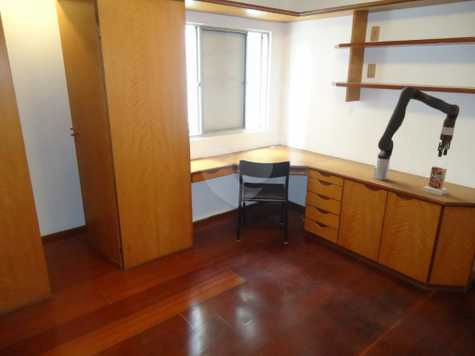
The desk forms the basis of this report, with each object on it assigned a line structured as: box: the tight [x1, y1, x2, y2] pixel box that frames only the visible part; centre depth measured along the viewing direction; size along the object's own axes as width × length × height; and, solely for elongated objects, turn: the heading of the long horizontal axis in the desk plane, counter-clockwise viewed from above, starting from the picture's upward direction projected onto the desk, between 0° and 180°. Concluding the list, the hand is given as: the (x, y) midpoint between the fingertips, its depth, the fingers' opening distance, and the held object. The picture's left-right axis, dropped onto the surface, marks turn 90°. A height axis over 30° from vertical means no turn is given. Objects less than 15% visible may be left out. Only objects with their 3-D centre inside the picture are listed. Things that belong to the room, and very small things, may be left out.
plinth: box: [422, 185, 447, 196], centre depth 250 cm, size 12×10×3 cm
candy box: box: [427, 165, 447, 190], centre depth 248 cm, size 9×4×15 cm, turn 35°
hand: (442, 156), depth 243 cm, fingers open, 8 cm apart
